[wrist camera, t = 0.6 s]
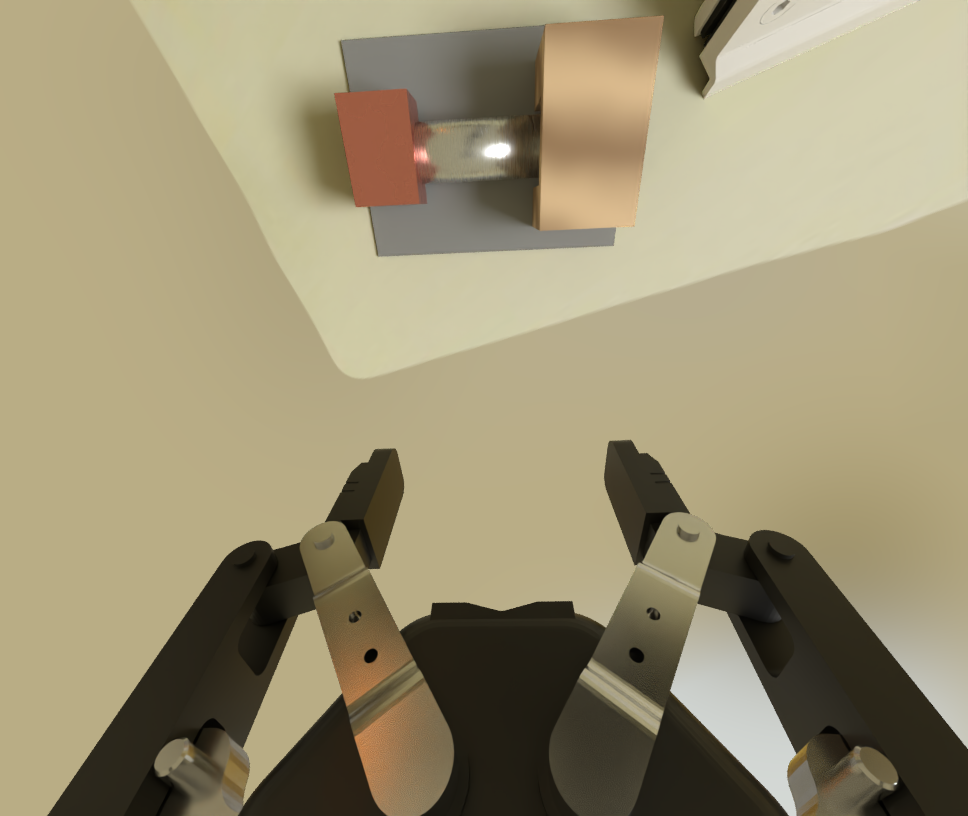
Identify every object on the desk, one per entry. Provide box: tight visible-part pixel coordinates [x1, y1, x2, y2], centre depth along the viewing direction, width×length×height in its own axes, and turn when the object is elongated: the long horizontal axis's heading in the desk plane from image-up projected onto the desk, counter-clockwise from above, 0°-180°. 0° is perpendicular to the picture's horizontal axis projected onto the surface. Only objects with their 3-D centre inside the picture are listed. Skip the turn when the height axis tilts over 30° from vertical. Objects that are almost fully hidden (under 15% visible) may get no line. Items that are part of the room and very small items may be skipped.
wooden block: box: [532, 16, 664, 231], centre depth 27 cm, size 11×7×6 cm, turn 3°
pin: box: [334, 89, 541, 207], centre depth 28 cm, size 15×7×5 cm, turn 93°
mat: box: [341, 25, 616, 256], centre depth 30 cm, size 15×22×1 cm
